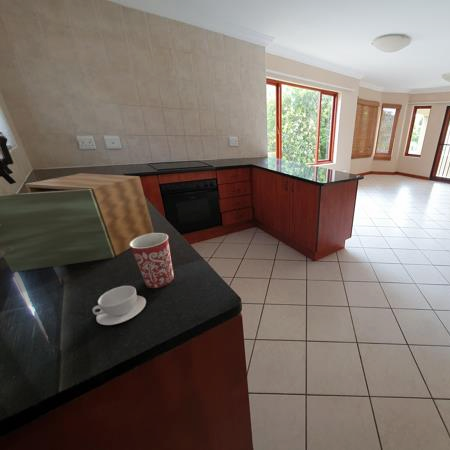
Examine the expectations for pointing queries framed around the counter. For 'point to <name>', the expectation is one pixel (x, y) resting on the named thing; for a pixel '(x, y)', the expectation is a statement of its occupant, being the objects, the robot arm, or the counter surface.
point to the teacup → (118, 305)
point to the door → (51, 229)
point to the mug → (153, 259)
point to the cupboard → (109, 203)
